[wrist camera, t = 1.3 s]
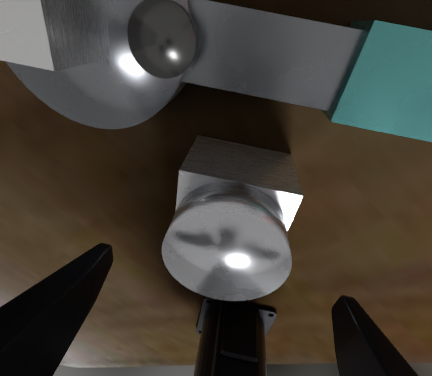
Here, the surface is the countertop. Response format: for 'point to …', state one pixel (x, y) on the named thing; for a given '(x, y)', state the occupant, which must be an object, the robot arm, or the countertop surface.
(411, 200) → the countertop surface
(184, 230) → the cylinder with square end
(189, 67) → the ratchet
